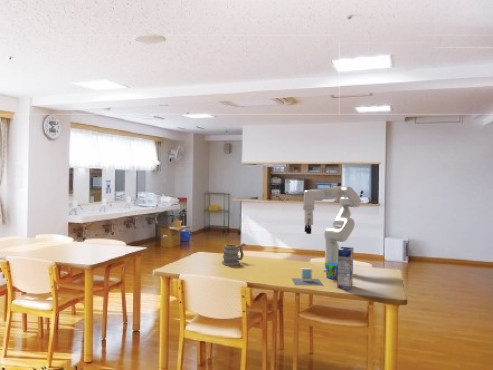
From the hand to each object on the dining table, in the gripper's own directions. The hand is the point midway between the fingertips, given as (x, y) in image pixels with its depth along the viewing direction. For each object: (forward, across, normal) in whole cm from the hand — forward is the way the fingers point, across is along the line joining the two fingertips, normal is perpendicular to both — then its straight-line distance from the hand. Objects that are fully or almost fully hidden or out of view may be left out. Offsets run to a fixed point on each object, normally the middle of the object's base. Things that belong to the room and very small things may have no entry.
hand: (307, 232), depth 275 cm
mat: (+30, -20, +2) cm, 36 cm away
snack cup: (+30, -7, -17) cm, 35 cm away
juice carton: (+30, -28, -20) cm, 45 cm away
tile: (+29, -17, +2) cm, 33 cm away
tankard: (+30, +34, +51) cm, 68 cm away
